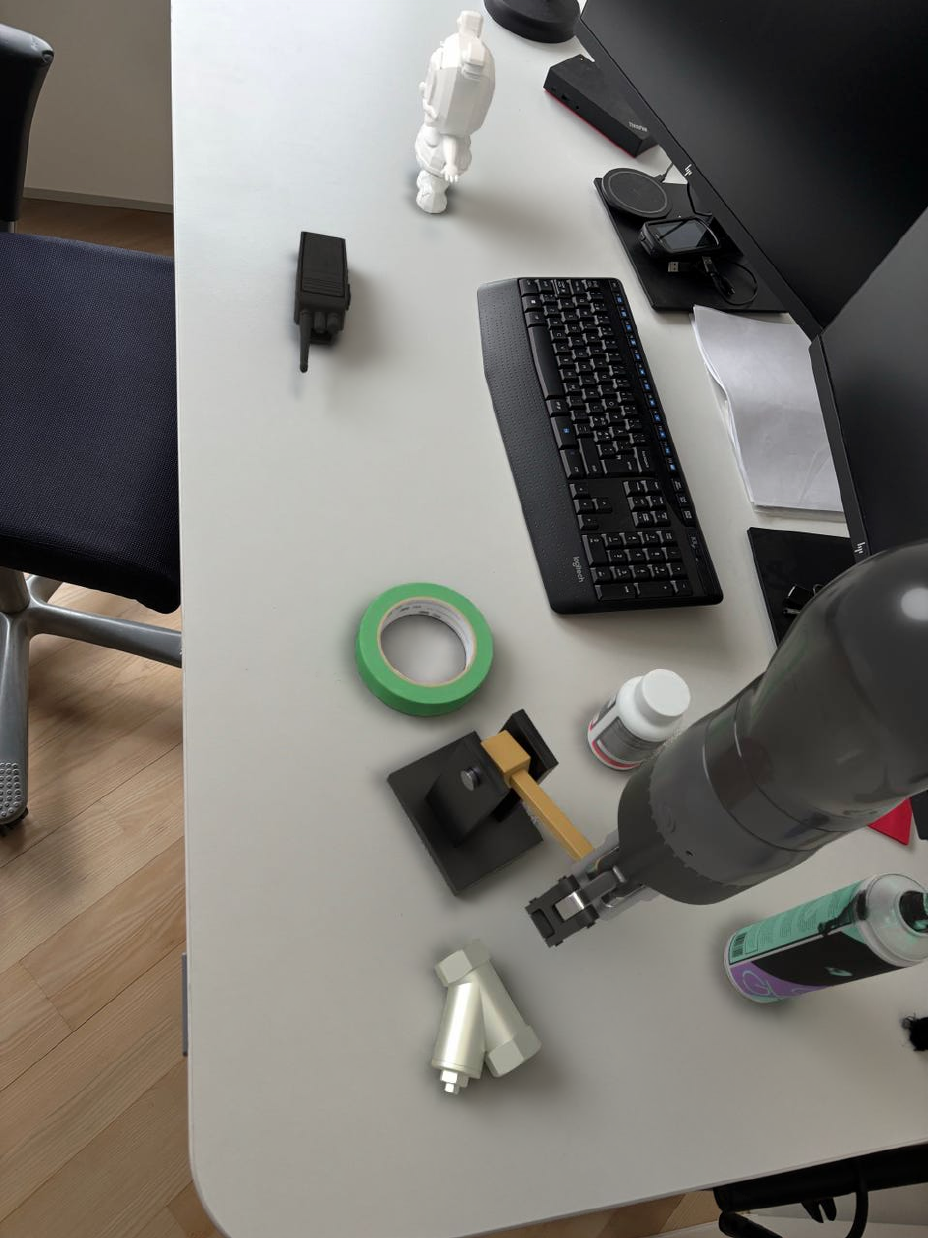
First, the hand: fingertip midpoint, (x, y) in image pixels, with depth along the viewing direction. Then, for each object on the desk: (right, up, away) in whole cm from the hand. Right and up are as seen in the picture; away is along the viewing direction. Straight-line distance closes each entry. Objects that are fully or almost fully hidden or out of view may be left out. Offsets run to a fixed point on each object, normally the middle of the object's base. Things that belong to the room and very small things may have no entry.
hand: (598, 887), depth 56 cm
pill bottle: (+4, +6, +20) cm, 22 cm away
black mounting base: (-8, +2, +14) cm, 16 cm away
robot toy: (-12, +66, +50) cm, 83 cm away
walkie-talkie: (-23, +45, +35) cm, 62 cm away
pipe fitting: (-9, -11, +7) cm, 16 cm away
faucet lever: (-3, +3, +3) cm, 5 cm away
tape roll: (-12, +13, +20) cm, 27 cm away
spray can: (+14, -10, +14) cm, 22 cm away
